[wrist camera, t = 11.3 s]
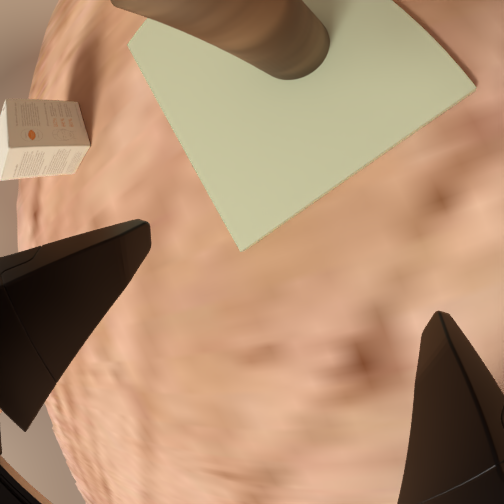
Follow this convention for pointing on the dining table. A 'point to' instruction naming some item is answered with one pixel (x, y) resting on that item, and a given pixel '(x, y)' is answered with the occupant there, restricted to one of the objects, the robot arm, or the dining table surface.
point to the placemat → (297, 109)
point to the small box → (41, 138)
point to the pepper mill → (248, 30)
